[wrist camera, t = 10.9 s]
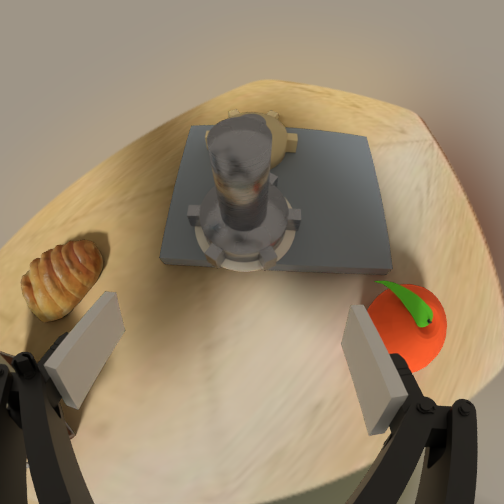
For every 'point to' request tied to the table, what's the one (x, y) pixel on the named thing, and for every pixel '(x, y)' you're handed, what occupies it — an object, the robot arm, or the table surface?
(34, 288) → the pastry
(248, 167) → the gear
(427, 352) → the clementine
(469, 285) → the table surface
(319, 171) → the gear board
